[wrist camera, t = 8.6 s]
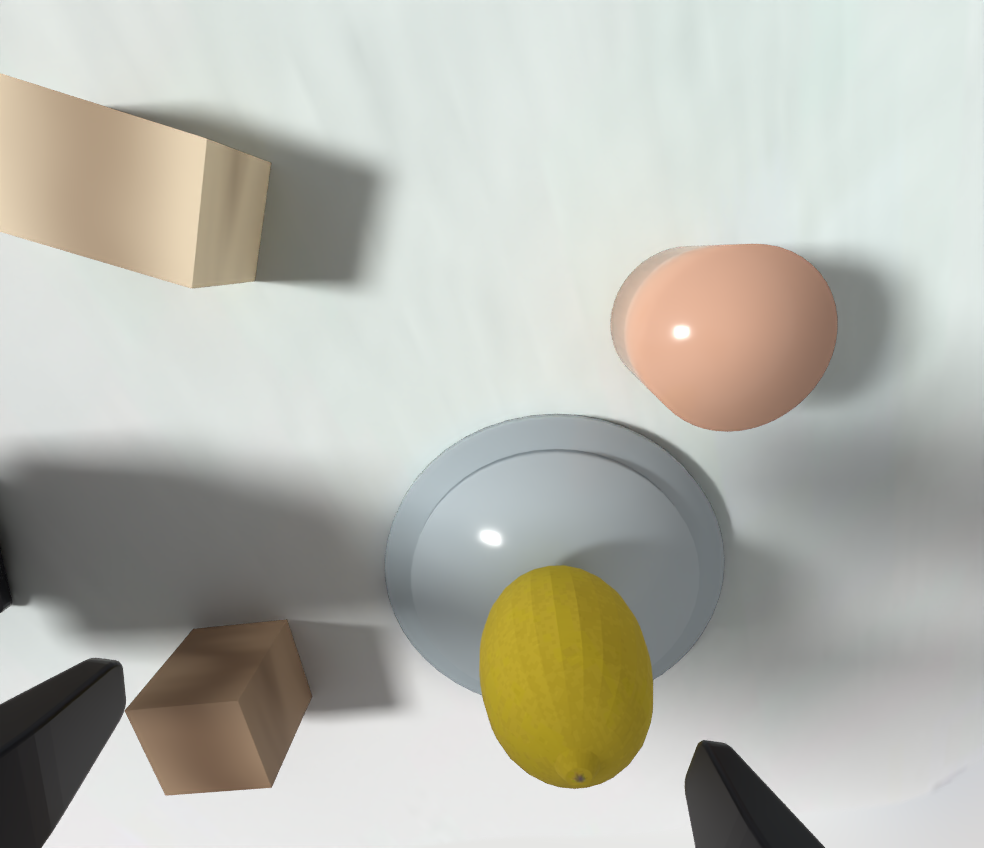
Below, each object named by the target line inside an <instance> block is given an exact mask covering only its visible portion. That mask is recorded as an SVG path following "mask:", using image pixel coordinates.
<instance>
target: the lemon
mask: <svg viewBox="0 0 984 848" xmlns="http://www.w3.org/2000/svg"><path fill="white" fill-rule="evenodd" d="M479 676H480V686H481V692H482V697H483V701H484V705H485V708H486V711H487V715H488V718H489V721H490V724H491V727H492V730H493V732H494V734H495V736H496V738H497V740H498V741H499V743H500V744H501V746H502V747H503V749H504V750H505V752H506V753H507V754H508V756H509V757H510V759H512V760H513V761H514V762H515V763H516V764H517V765H519V766H520V767H521V768H522V769H523V770H524V771H526V772H527V773H528V774H529V775H531V776H533V777H535V778H537V779H539V780H541V781H543V782H545V783H547V784H550V785H554V786H557V787H562V788H573V789H576V788H587V787H591V786H594V785H598V784H601V783H603V782H605V781H607V780H609V779H611V778H613V777H614V776H616V775H617V774H618V773H619V772H621V771H622V770H623V769H624V768H625V767H627V766H628V765H629V764H630V762H631V761H632V760H633V758H634V757H635V755H636V754H637V753H638V751H639V750H640V749H641V747H642V746H643V743H644V741H645V738H646V735H647V732H648V729H649V726H650V723H651V718H652V713H653V675H652V666H651V661H650V656H649V652H648V649H647V646H646V643H645V640H644V637H643V633H642V631H641V628H640V626H639V623H638V621H637V619H636V617H635V616H634V614H633V613H632V611H631V610H630V608H629V607H628V606H627V604H626V603H625V601H624V600H623V598H622V597H621V596H620V595H619V593H618V592H617V591H616V590H615V589H613V588H612V587H611V586H610V585H608V584H607V583H606V582H604V581H603V580H602V579H601V578H599V577H598V576H596V575H594V574H591V573H589V572H587V571H585V570H583V569H580V568H575V567H571V566H566V565H557V566H546V567H541V568H537V569H533V570H531V571H529V572H527V573H525V574H523V575H521V576H519V577H518V578H517V579H516V580H514V581H513V582H512V583H511V584H510V585H508V586H507V587H506V588H505V589H504V590H503V592H502V593H501V595H500V596H499V597H498V599H497V600H496V602H495V603H494V604H493V606H492V608H491V610H490V612H489V615H488V618H487V621H486V624H485V627H484V630H483V633H482V637H481V642H480V661H479Z"/></svg>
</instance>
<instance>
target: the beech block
mask: <svg viewBox="0 0 984 848" xmlns="http://www.w3.org/2000/svg"><path fill="white" fill-rule="evenodd" d="M270 168H271V163H270V162H268V161H265V160H262V159H260V158H257V157H254V156H252V155H249V154H246V153H244V152H241V151H238V150H236V149H233V148H230V147H228V146H225V145H222V144H220V143H217V142H215V141H212V140H209V139H207V138H203V137H200V136H197V135H194V134H191V133H188V132H184V131H181V130H178V129H175V128H172V127H169V126H165V125H162V124H159V123H156V122H153V121H150V120H146V119H143V118H140V117H137V116H134V115H131V114H127V113H124V112H121V111H118V110H115V109H112V108H108V107H105V106H102V105H99V104H96V103H93V102H89V101H86V100H83V99H80V98H77V97H74V96H70V95H67V94H64V93H61V92H58V91H55V90H51V89H48V88H45V87H42V86H39V85H36V84H32V83H29V82H26V81H23V80H20V79H17V78H13V77H10V76H7V75H4V74H1V73H0V232H3V233H6V234H10V235H13V236H17V237H20V238H23V239H27V240H30V241H33V242H37V243H40V244H43V245H47V246H50V247H54V248H57V249H60V250H64V251H67V252H70V253H74V254H77V255H81V256H84V257H87V258H91V259H94V260H97V261H101V262H104V263H108V264H111V265H114V266H118V267H121V268H124V269H128V270H131V271H135V272H138V273H141V274H145V275H148V276H151V277H155V278H158V279H161V280H165V281H168V282H172V283H175V284H178V285H182V286H185V287H188V288H201V287H209V286H218V285H227V284H236V283H244V282H253V281H255V276H256V269H257V262H258V254H259V247H260V240H261V233H262V226H263V218H264V211H265V204H266V197H267V189H268V182H269V175H270Z"/></svg>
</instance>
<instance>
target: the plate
mask: <svg viewBox="0 0 984 848" xmlns="http://www.w3.org/2000/svg"><path fill="white" fill-rule="evenodd" d="M724 561H725V560H724V548H723V540H722V536H721V532H720V527H719V523H718V521H717V518H716V516H715V513H714V511H713V509H712V506H711V504H710V502H709V501H708V499H707V497H706V496H705V494H704V492H703V491H702V489H701V488H700V486H699V485H698V484H697V482H696V481H695V480H694V479H693V477H692V476H691V475H690V474H689V473H688V472H687V470H686V469H685V468H684V467H683V466H682V465H681V463H680V462H678V461H677V460H676V459H675V458H674V457H673V456H672V455H670V454H669V453H668V452H667V451H666V450H665V449H663V448H662V447H660V446H659V445H657V444H656V443H654V442H653V441H651V440H650V439H648V438H647V437H645V436H643V435H641V434H639V433H637V432H634V431H632V430H630V429H628V428H626V427H623V426H620V425H617V424H614V423H611V422H608V421H605V420H601V419H596V418H591V417H585V416H580V415H564V414H548V415H533V416H527V417H521V418H516V419H511V420H507V421H504V422H501V423H498V424H495V425H491V426H488V427H485V428H483V429H481V430H479V431H477V432H475V433H473V434H471V435H469V436H466V437H465V438H463V439H461V440H460V441H458V442H457V443H455V444H454V445H452V446H451V447H449V448H448V449H446V450H445V451H444V452H442V453H441V454H440V455H439V456H438V457H437V458H435V459H434V460H433V461H432V462H431V463H430V464H429V465H428V466H427V467H426V468H425V469H424V470H423V472H422V473H421V474H420V475H419V476H418V477H417V478H416V480H415V481H414V483H413V484H412V486H411V487H410V489H409V490H408V492H407V493H406V495H405V496H404V498H403V500H402V503H401V505H400V507H399V509H398V511H397V513H396V516H395V518H394V520H393V523H392V527H391V530H390V533H389V537H388V540H387V548H386V555H385V579H386V584H387V590H388V596H389V599H390V602H391V605H392V608H393V611H394V614H395V616H396V618H397V620H398V622H399V624H400V626H401V628H402V630H403V632H404V633H405V635H406V636H407V637H408V639H409V640H410V642H411V643H412V645H413V646H414V647H415V648H416V649H417V651H418V652H419V653H420V654H421V655H422V656H423V657H424V658H425V659H426V660H427V661H428V662H429V663H430V664H431V665H432V666H434V667H435V668H436V669H437V670H438V671H439V672H441V673H442V674H444V675H445V676H447V677H448V678H449V679H451V680H452V681H454V682H455V683H457V684H459V685H461V686H463V687H465V688H467V689H469V690H471V691H473V692H475V693H478V694H480V695H482V692H481V686H480V676H479V661H480V642H481V637H482V633H483V630H484V627H485V624H486V621H487V618H488V615H489V612H490V610H491V608H492V606H493V604H494V603H495V602H496V600H497V599H498V597H499V596H500V595H501V593H502V592H503V590H504V589H505V588H506V587H507V586H508V585H510V584H511V583H512V582H513V581H514V580H516V579H517V578H518V577H519V576H521V575H523V574H525V573H527V572H529V571H531V570H533V569H537V568H541V567H546V566H557V565H566V566H571V567H575V568H580V569H583V570H585V571H587V572H589V573H591V574H594V575H596V576H598V577H599V578H601V579H602V580H603V581H604V582H606V583H607V584H608V585H610V586H611V587H612V588H613V589H615V590H616V591H617V592H618V593H619V595H620V596H621V597H622V598H623V600H624V601H625V603H626V604H627V606H628V607H629V608H630V610H631V611H632V613H633V614H634V616H635V617H636V619H637V621H638V623H639V626H640V628H641V631H642V633H643V637H644V640H645V643H646V646H647V649H648V652H649V656H650V661H651V666H652V675H653V680H654V679H655V678H657V677H659V676H660V675H662V674H663V673H664V672H666V671H667V670H668V669H669V668H671V667H672V666H673V665H674V664H676V663H677V662H678V661H679V660H680V659H681V658H682V657H683V656H684V655H685V654H686V653H687V652H688V651H689V650H690V649H691V647H692V646H693V645H694V643H695V642H696V641H697V640H698V638H699V637H700V636H701V634H702V633H703V631H704V629H705V628H706V626H707V624H708V622H709V621H710V619H711V617H712V615H713V612H714V610H715V607H716V605H717V602H718V599H719V596H720V591H721V587H722V583H723V575H724Z"/></svg>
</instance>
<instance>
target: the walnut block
mask: <svg viewBox="0 0 984 848" xmlns="http://www.w3.org/2000/svg"><path fill="white" fill-rule="evenodd" d="M311 698H312V694H311V691H310V688H309V685H308V682H307V679H306V676H305V673H304V670H303V667H302V663H301V660H300V657H299V654H298V651H297V648H296V645H295V642H294V639H293V636H292V633H291V630H290V627H289V624H288V621H287V619H286V620H276V621H267V622H257V623H247V624H237V625H227V626H217V627H207V628H197V629H193V630H192V631H191V632H190V633H189V635H188V636H187V637H186V638H185V639H184V641H183V642H182V643H181V644H180V645H179V646H178V648H177V649H176V650H175V651H174V652H173V654H172V655H171V656H170V657H169V658H168V660H167V661H166V662H165V663H164V664H163V666H162V667H161V668H160V669H159V670H158V672H157V673H156V674H155V675H154V676H153V677H152V679H151V680H150V681H149V682H148V683H147V685H146V686H145V687H144V688H143V689H142V691H141V692H140V693H139V694H138V695H137V697H136V698H135V699H134V700H133V701H132V703H131V704H130V705H129V706H128V707H127V708H126V710H125V713H126V715H127V717H128V719H129V721H130V723H131V725H132V727H133V729H134V731H135V733H136V735H137V737H138V739H139V742H140V744H141V746H142V748H143V750H144V752H145V754H146V756H147V758H148V760H149V762H150V764H151V766H152V768H153V771H154V773H155V775H156V777H157V779H158V781H159V783H160V785H161V787H162V789H163V791H164V793H165V795H179V794H192V793H206V792H219V791H233V790H246V789H260V788H272V786H273V783H274V781H275V779H276V777H277V774H278V772H279V770H280V768H281V765H282V763H283V761H284V759H285V756H286V754H287V752H288V750H289V747H290V745H291V743H292V741H293V738H294V736H295V734H296V732H297V729H298V727H299V725H300V723H301V720H302V718H303V716H304V714H305V711H306V709H307V707H308V705H309V702H310V700H311Z"/></svg>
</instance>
